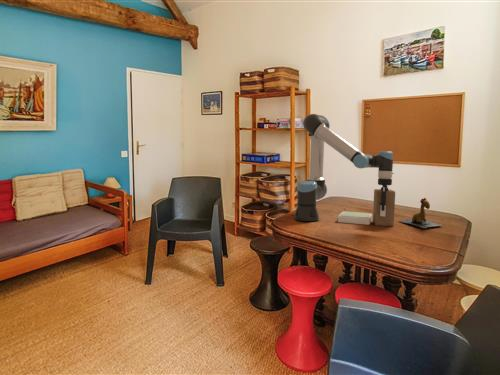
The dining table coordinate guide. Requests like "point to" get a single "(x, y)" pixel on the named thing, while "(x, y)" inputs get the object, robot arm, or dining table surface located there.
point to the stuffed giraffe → (421, 217)
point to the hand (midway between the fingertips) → (383, 214)
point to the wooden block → (390, 207)
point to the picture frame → (355, 218)
